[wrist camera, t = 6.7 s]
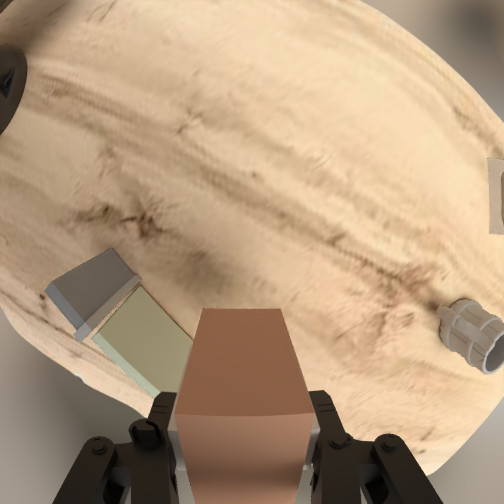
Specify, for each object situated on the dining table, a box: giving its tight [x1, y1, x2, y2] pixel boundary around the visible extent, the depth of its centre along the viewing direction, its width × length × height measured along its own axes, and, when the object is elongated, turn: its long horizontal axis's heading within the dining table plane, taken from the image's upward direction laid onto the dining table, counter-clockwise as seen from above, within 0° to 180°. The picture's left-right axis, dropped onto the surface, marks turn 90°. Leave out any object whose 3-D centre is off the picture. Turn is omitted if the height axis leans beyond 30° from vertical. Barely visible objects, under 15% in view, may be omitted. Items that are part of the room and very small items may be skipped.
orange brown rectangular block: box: [174, 308, 315, 504], centre depth 12 cm, size 7×4×8 cm, turn 179°
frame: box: [45, 248, 141, 343], centre depth 26 cm, size 26×2×12 cm, turn 39°
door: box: [92, 285, 194, 399], centre depth 26 cm, size 15×2×11 cm, turn 39°
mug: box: [436, 299, 504, 374], centre depth 28 cm, size 8×12×12 cm, turn 61°
